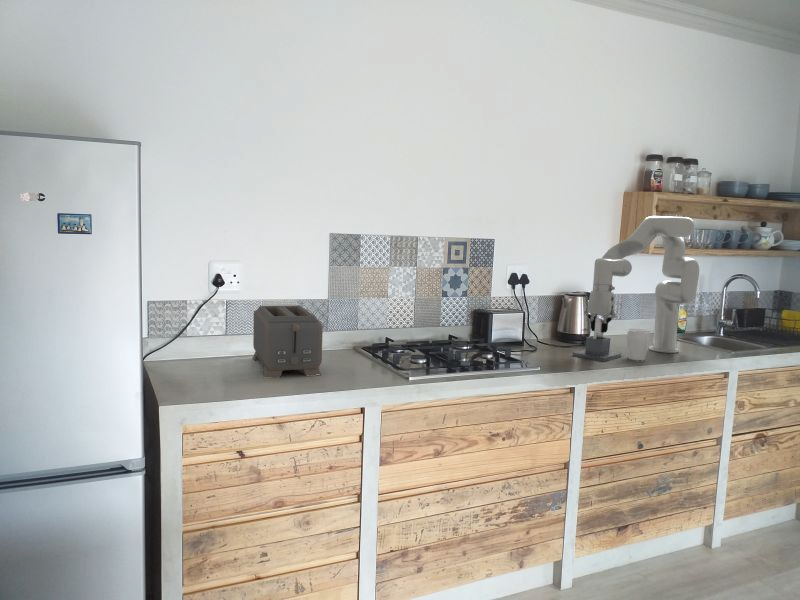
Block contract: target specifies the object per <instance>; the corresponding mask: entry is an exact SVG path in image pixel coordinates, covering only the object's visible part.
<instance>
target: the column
mask: <svg viewBox="0 0 800 600" xmlns="http://www.w3.org/2000/svg"><path fill="white" fill-rule="evenodd" d="M603 323H604V320H603V317H596V318H595V324H594V331H593V336H597V339H603V337H605V336H604V334H605V333H602V324H603Z"/></svg>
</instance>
